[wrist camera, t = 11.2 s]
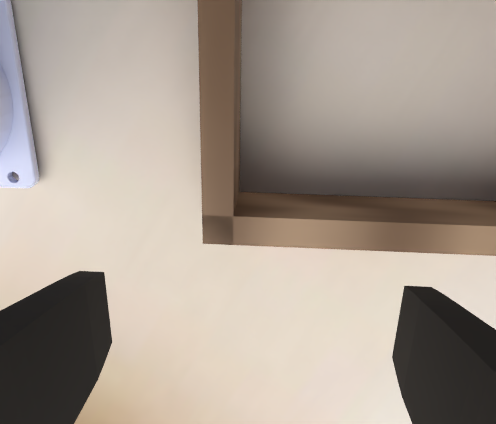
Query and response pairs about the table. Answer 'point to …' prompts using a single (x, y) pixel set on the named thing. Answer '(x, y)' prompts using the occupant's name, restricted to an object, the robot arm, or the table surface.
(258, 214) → the frame
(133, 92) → the table surface
